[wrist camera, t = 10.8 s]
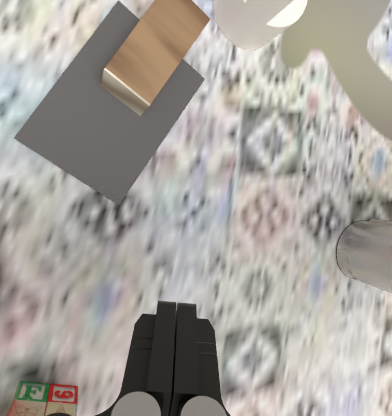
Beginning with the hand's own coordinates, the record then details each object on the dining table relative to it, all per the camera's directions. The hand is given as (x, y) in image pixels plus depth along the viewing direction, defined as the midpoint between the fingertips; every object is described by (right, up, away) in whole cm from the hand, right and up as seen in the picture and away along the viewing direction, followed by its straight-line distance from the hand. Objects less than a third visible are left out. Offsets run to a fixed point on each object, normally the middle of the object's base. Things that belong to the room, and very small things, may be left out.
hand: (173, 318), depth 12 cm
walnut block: (-6, +16, +18) cm, 25 cm away
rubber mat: (-8, +16, +21) cm, 27 cm away
